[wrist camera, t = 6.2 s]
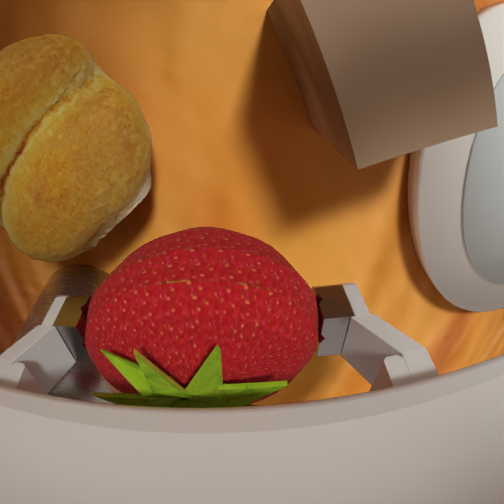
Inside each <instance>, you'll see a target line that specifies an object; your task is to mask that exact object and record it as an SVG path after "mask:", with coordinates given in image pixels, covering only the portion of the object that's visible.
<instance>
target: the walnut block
mask: <svg viewBox="0 0 504 504" xmlns="http://www.w3.org/2000/svg"><path fill="white" fill-rule="evenodd" d="M267 12H268V14H269V17H270V19H271V21H272V23H273V26H274V28H275V30H276V32H277V35H278V37H279V40H280V42H281V44H282V47H283V49H284V52H285V54H286V56H287V59H288V61H289V64H290V67H291V69H292V72H293V74H294V77H295V79H296V82H297V85H298V87H299V90H300V93H301V95H302V98H303V101H304V104H305V106H306V109H307V112H308V115H309V118H310V121H311V124H312V127H313V128H314V129H315V130H316V131H317V132H318V133H319V134H320V135H322V136H323V137H324V138H325V139H326V140H327V141H328V142H329V143H330V144H331V145H333V146H334V147H335V148H336V149H337V150H338V151H339V152H340V153H341V154H342V155H343V156H344V157H345V158H346V159H347V160H348V161H350V162H351V163H352V164H353V165H354V166H355V167H356V168H357V169H358V170H359V169H362V168H365V167H368V166H371V165H374V164H377V163H380V162H383V161H386V160H389V159H392V158H395V157H398V156H401V155H404V154H408V153H411V152H414V151H417V150H420V149H423V148H427V147H430V146H433V145H436V144H440V143H443V142H446V141H449V140H453V139H456V138H459V137H463V136H466V135H470V134H473V133H477V132H480V131H484V130H487V129H491V128H494V127H498V124H497V113H496V104H495V96H494V89H493V82H492V76H491V70H490V65H489V60H488V55H487V50H486V46H485V41H484V37H483V33H482V29H481V26H480V22H479V18H478V15H477V12H476V8H475V5H474V2H473V0H274V1H273V2H272V4H271V5H270V6H269V8H268V9H267Z"/></svg>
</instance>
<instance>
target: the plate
mask: <svg viewBox="0 0 504 504" xmlns="http://www.w3.org/2000/svg"><path fill="white" fill-rule="evenodd" d="M477 15H478V18H479V22H480V26H481V29H482V33H483V37H484V41H485V46H486V50H487V55H488V60H489V65H490V70H491V76H492V82H493V89H494V96H495V104H496V113H497V124H498V127H494V128H491V129H487V130H484V131H480V132H477V133H473V134H470V135H466V136H463V137H459V138H456V139H453V140H449V141H446V142H443V143H440V144H436V145H433V146H430V147H427V148H423V149H420V150H417V151H414V152H411V153H410V162H409V172H408V213H409V224H410V230H411V235H412V240H413V244H414V248H415V251H416V253H417V256H418V259H419V261H420V264H421V265H422V267H423V269H424V270H425V272H426V274H427V276H428V277H429V279H430V280H431V281H432V283H433V284H434V286H435V287H436V289H437V290H438V291H439V292H440V293H441V294H442V296H443V297H444V298H445V299H446V300H448V301H449V302H450V303H452V304H453V305H454V306H457V307H459V308H461V309H464V310H468V311H474V312H487V311H493V310H498V309H501V308H504V2H498V3H495V4H492V5H489V6H486V7H484V8H482V9H481V10H479V11H478V12H477Z"/></svg>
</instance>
